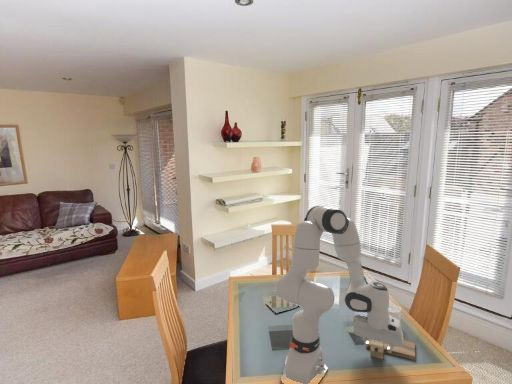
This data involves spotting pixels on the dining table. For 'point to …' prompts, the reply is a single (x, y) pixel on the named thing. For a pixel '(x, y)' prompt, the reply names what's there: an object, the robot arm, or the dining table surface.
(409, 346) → the board
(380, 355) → the gauge
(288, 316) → the dining table surface
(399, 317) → the white cup
